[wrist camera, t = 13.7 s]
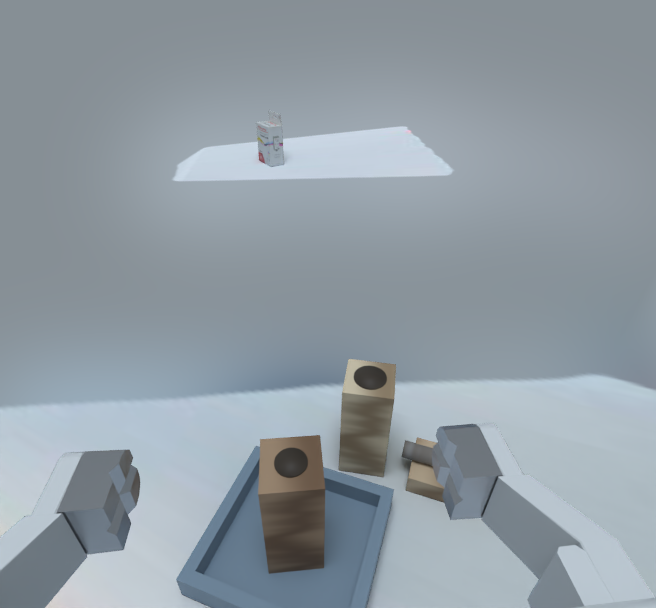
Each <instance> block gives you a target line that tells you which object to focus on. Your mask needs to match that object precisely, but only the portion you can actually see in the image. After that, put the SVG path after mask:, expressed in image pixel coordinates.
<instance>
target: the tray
mask: <svg viewBox="0 0 656 608" xmlns="http://www.w3.org/2000/svg"><path fill="white" fill-rule="evenodd" d="M259 462H260V447H258V446H256V447H255V448H254V450H253V452H252V453H251V455H250V457H249V458H248V460H247V462H246V463H245V465H244V467H243V468H242V470H241V472H240V473H239V475H238V477H237V479H236V480H235V482H234V484H233V485H232V487H231V489H230V490H229V492H228V494H227V495H226V497H225V499H224V500H223V502H222V504H221V505H220V507H219V509H218V510H217V512H216V514H215V515H214V517H213V519H212V520H211V522H210V524H209V525H208V527H207V529H206V530H205V532H204V534H203V536H202V537H201V539H200V541H199V542H198V544H197V546H196V547H195V549H194V551H193V552H192V554H191V556H190V557H189V559H188V561H187V562H186V564H185V566H184V567H183V569H182V571H181V572H180V574H179V576H178V577H177V579H176V580H177V583H178V585H179V588H180V590H181V593H182V595H184V596H187V597H189V598H191V599H193V600H196V601H198V602H200V603H202V604H205V605H207V606H209V607H211V608H366V607H367V603H368V599H369V595H370V591H371V587H372V583H373V578H374V574H375V570H376V566H377V562H378V558H379V554H380V550H381V545H382V541H383V537H384V533H385V529H386V525H387V521H388V517H389V512H390V508H391V504H392V498H393V492H394V489H390V488H387V487H384V486H381V485H378V484H375V483H371V482H368V481H365V480H362V479H359V478H356V477H353V476H349V475H346V474H343V473H340V472H337V471H334V470H330V469H327V468H324V467H323V471H324V481H325V540H324V568H322V569H312V570H302V571H292V572H282V573H271V574H269V572H268V564H267V557H266V549H265V542H264V534H263V527H262V519H261V512H260V504H259V497H258V487H259Z"/></svg>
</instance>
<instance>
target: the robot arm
mask: <svg viewBox="0 0 656 608" xmlns="http://www.w3.org/2000/svg"><path fill="white" fill-rule="evenodd" d="M436 437H437V440H438V443H437V444H435V445H434V446H433V450H432V466H433V470H434V474H435V477H436V480H437V482H438V483H440V484H441V485H442V486H443V487H444V491H443V495H442V497H443V500H444V503H445V506H446V509H447V511H448V514H449V517H450V520H457V519H473V518H482V519H481V520H482V521H483V522H484V523H485V524H486V525H487V526H488V527H489V528H490V529H491V530H492V531H493V532H494V533H495V534H496V535H497V536H498V537H499V538H500V539H501V540H502V541H503V542H504V544H505V545H506V546H507V547H508V548H509V549H510V550H511V551H512V552H513V553H514V554H515V555H516V556H517V557H518V558H519V559H520V560H521V561H522V562H523V563H524V564H525V565H526V566H527V567H528V568H529V569H530V570H531V571H532V572H533V574H534V575H535V576H536V577H537V578H538V579H539V580H538V582H537V583H536V585H535V587H534V588H533V590H532V592H531V593H530V595H529V597H528V602H529V605H530V607H531V608H656V598H655V596H654V595H653V593H652V592H651V590H650V588H649V587H648V585H647V584H646V582H645V581H644V579H643V578H642V576H641V575H640V573H639V572H638V570H637V569H636V567H635V566H634V564H633V563H632V561H631V559H630V558H629V556H628V555H627V553H626V552H625V550H624V549H623V547H622V546H621V544H620V543H619V541H618V540H617V539H616V538H615V537H613V536H612V535H611V534H609V533H608V532H607V531H605V530H604V529H602V528H601V527H600V526H598V525H597V524H596V523H594V522H593V521H592V520H590V519H589V518H588V517H586V516H585V515H584V514H582V513H581V512H579V511H578V510H577V509H575V508H574V507H573V506H571V505H570V504H569V503H567V502H566V501H565V500H563V499H562V498H561V497H559V496H558V495H556V494H555V493H554V492H552V491H551V490H550V489H548V488H547V487H546V486H544V485H543V484H542V483H540V482H539V481H538V480H536V479H535V478H533V477H532V476H531V475H529V474H523V472H522V471H521V469H520V467H519V465H518V463H517V462H516V460H515V458H514V456H513V454H512V452H511V451H510V449H509V447H508V445H507V443H506V442H505V440H504V438H503V436H502V434H501V433H500V431H499V429H498V427H497V426H496V425H495V424H494V423H484V424H466V425H455V426H443V427H439V428H438V429H437V433H436ZM132 459H133V457H132V454H131V452H130V450H110V451H88V452H71V453H64V454H63V455H62V456H61V458H60V459H59V460H58V462H57V464H56V466H55V468H54V470H53V472H52V474H51V476H50V478H49V480H48V482H47V484H46V486H45V488H44V490H43V492H42V494H41V496H40V498H39V500H38V502H37V504H36V506H35V508H34V510H33V512H32V514H31V516H24V517H23V518H22V519H21V520H19V521H18V522H17V523H16V524H15V525H14V526H12V527H11V528H10V529H9V530H8V531H7V532H5V533H4V534H3V535H2V536H1V537H0V608H45V607H46V606H47V605H48V603H49V602H50V601H51V600H52V599H53V597H54V596H55V595H56V594H57V593H58V591H59V590H60V589H61V588H62V587H63V585H64V584H65V583H66V582H67V580H68V579H69V578H70V577H71V576H72V574H73V573H74V572H75V571H76V570H77V568H78V567H79V566H80V565H81V564H82V562H83V561H84V560H85V559H86V558H87V554H95V553H104V552H112V551H120V550H124V546H125V543H126V539H127V536H128V533H129V529H130V526H131V522H130V519H129V517H128V514H129V513H130V512H131V511H132V510H133V509H134V508H135V507H136V505H137V501H138V497H139V490H140V477H139V473H138V470H137V468H135V467H134V466H132V465H131V462H132Z"/></svg>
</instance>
